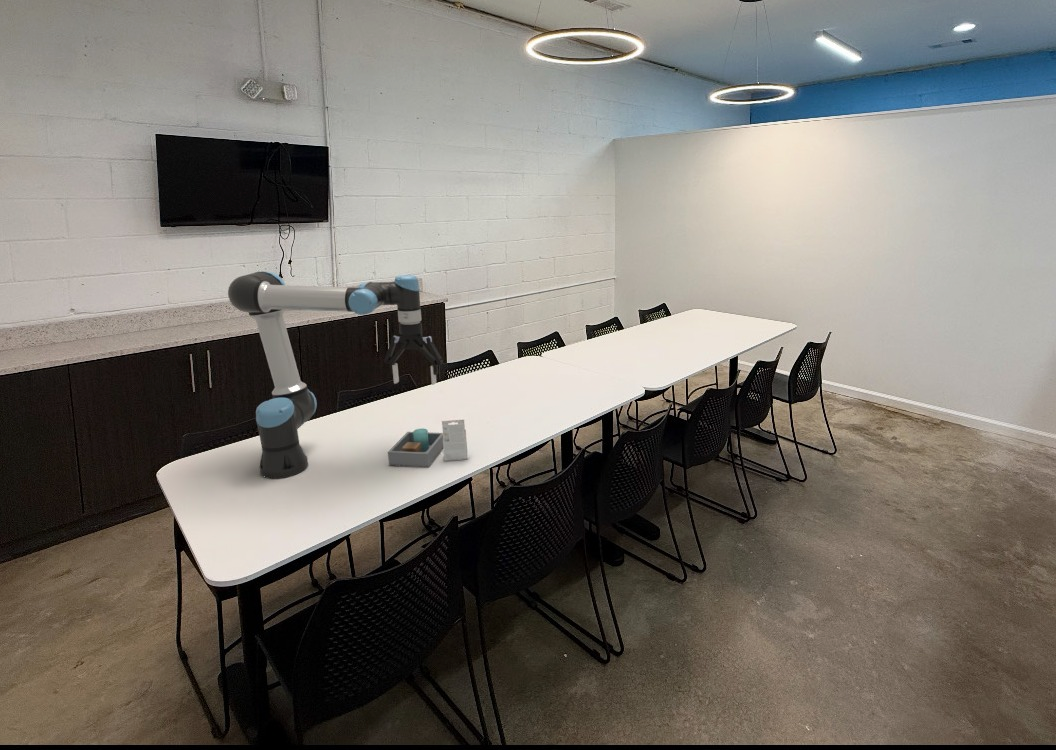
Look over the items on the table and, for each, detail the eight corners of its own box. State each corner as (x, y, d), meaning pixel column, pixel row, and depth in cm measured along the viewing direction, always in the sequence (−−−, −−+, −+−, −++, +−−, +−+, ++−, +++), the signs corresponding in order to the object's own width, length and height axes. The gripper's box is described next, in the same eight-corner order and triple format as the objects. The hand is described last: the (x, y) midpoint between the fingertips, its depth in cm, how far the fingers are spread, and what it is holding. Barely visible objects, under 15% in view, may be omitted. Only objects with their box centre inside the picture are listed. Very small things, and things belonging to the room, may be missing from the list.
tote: (389, 465, 197) (387, 452, 196) (408, 444, 214) (407, 431, 213) (428, 467, 195) (427, 453, 194) (445, 445, 212) (444, 433, 210)
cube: (403, 461, 199) (401, 448, 197) (408, 455, 203) (407, 442, 202) (417, 462, 198) (415, 448, 196) (422, 456, 203) (421, 442, 201)
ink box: (444, 457, 203) (441, 417, 198) (467, 455, 203) (464, 415, 199) (444, 461, 199) (440, 421, 195) (467, 459, 200) (464, 419, 196)
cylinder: (417, 446, 211) (415, 428, 209) (430, 446, 210) (429, 428, 208) (412, 452, 206) (411, 433, 204) (426, 452, 205) (424, 434, 203)
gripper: (370, 324, 194) (376, 385, 200) (442, 325, 189) (446, 387, 195) (379, 319, 201) (385, 378, 207) (449, 320, 196) (453, 380, 203)
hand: (415, 383), depth 201 cm, fingers open, 13 cm apart
